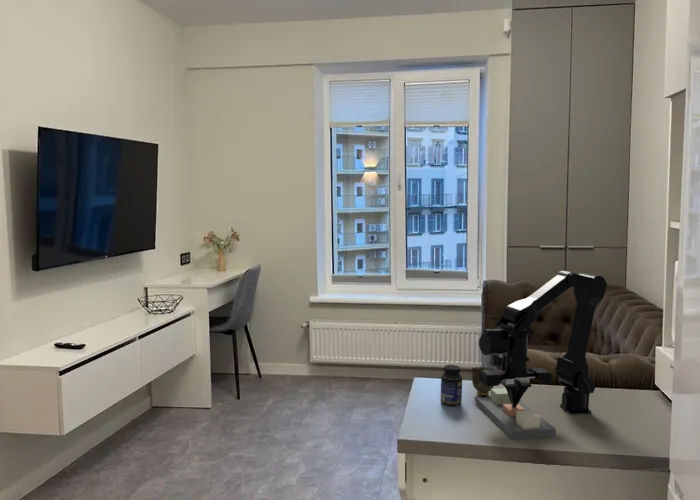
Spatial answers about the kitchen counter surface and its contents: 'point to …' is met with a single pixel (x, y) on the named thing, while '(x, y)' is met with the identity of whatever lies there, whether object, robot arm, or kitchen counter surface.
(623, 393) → the kitchen counter surface
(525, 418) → the cream button
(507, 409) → the terracotta button
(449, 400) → the pill bottle
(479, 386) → the cup
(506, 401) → the sage button
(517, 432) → the button board
